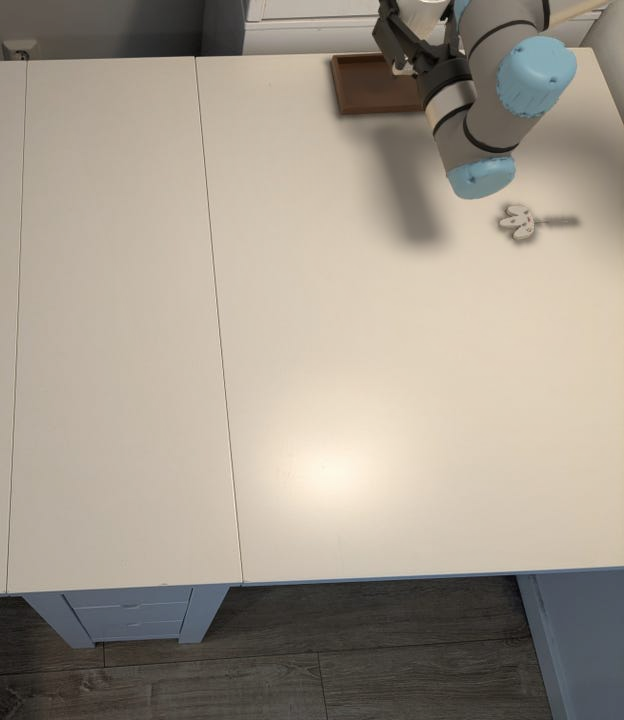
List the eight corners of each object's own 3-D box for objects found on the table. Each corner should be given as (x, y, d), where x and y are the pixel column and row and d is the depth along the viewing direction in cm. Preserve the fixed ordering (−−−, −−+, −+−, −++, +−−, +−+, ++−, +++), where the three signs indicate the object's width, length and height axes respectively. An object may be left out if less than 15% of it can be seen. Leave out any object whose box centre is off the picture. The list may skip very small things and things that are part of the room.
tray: (329, 65, 103) (333, 54, 100) (417, 61, 102) (422, 50, 100) (339, 117, 99) (343, 108, 96) (430, 113, 98) (437, 103, 96)
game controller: (489, 217, 91) (498, 207, 89) (550, 196, 92) (561, 186, 90) (508, 245, 89) (518, 236, 87) (570, 224, 90) (582, 215, 88)
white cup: (422, 64, 90) (454, 6, 80) (373, 55, 90) (399, -4, 81) (428, 29, 92) (459, -31, 83) (380, 20, 93) (405, -40, 84)
